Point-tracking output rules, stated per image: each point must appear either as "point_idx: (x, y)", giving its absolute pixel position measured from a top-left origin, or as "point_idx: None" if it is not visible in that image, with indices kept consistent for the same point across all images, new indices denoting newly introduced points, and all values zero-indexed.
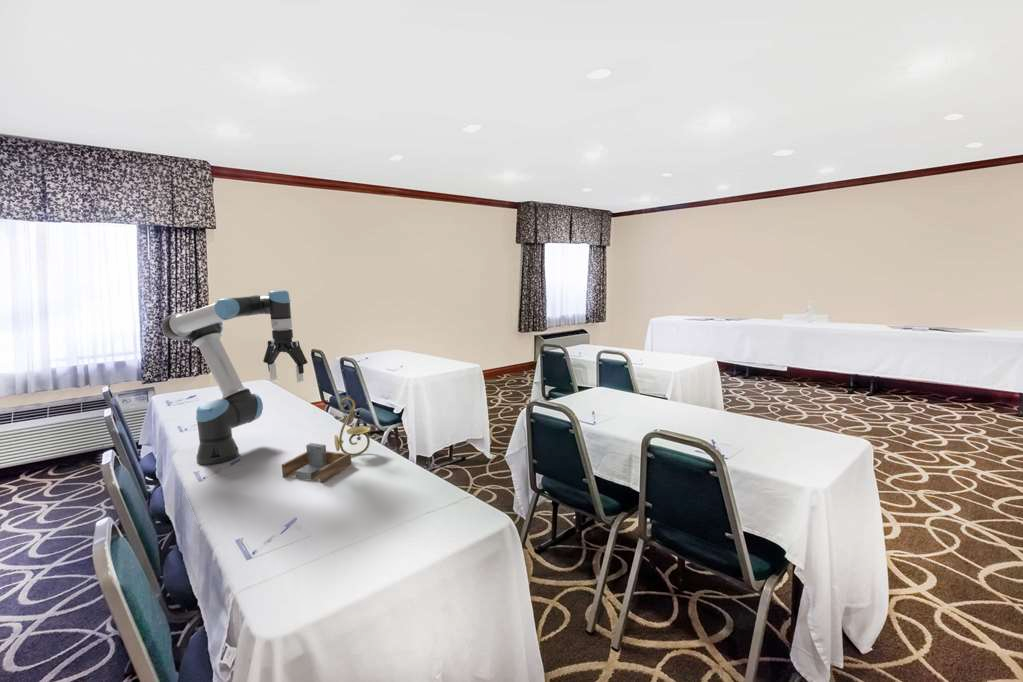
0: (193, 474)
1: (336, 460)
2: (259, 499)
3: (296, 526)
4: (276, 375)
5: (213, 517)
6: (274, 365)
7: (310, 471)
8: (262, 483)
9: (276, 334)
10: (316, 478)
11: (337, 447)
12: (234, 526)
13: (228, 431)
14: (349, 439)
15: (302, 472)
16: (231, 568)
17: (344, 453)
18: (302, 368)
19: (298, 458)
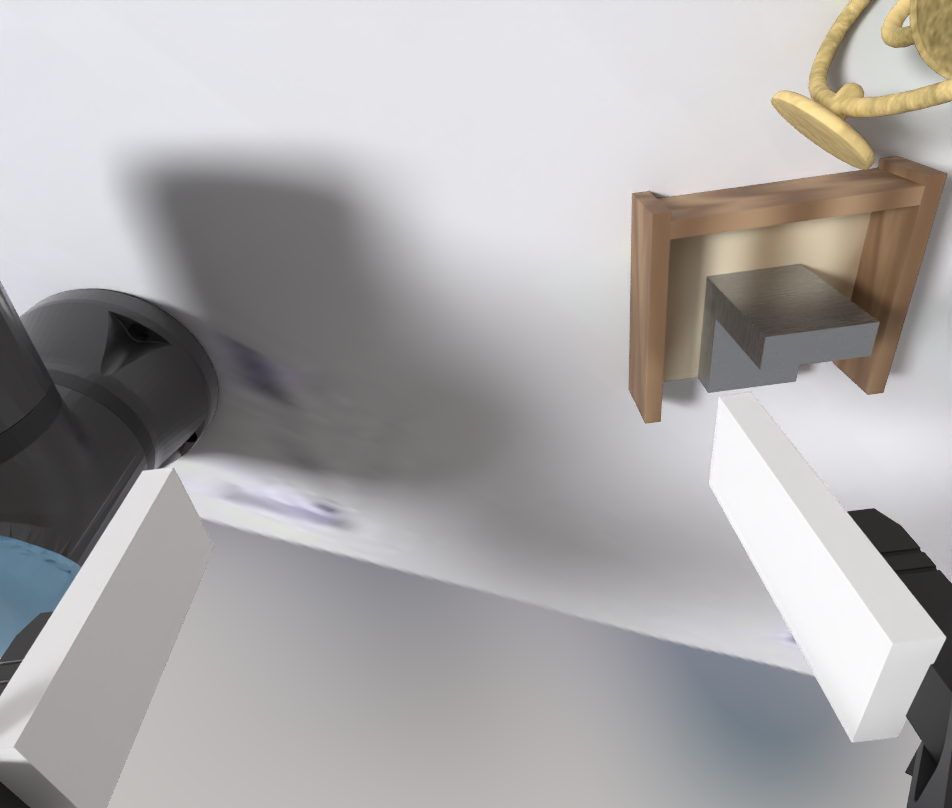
0: (250, 509)
1: (903, 287)
2: (686, 522)
3: None
4: (151, 512)
5: (639, 616)
6: (61, 724)
7: (783, 369)
8: (594, 453)
9: None
10: None
11: (829, 150)
12: (737, 616)
13: (118, 439)
14: (904, 46)
15: (747, 386)
16: None
17: (906, 189)
18: (948, 613)
19: (662, 335)
